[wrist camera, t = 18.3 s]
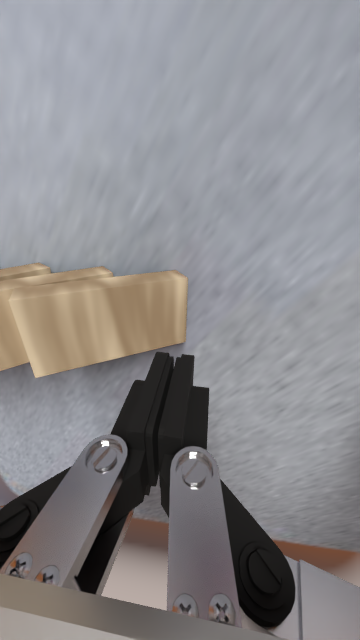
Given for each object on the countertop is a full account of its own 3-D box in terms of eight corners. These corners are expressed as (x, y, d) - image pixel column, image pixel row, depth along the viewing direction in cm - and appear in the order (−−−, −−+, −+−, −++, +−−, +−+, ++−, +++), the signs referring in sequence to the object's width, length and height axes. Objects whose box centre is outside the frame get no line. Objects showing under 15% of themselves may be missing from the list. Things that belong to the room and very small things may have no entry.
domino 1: (112, 272, 16) (-90, 305, 11) (120, 334, 19) (-45, 384, 14) (102, 266, 18) (-81, 292, 13) (110, 324, 20) (-42, 366, 15)
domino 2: (187, 278, 16) (8, 300, 12) (185, 341, 18) (35, 378, 14) (175, 270, 17) (14, 287, 13) (174, 329, 20) (37, 359, 16)
